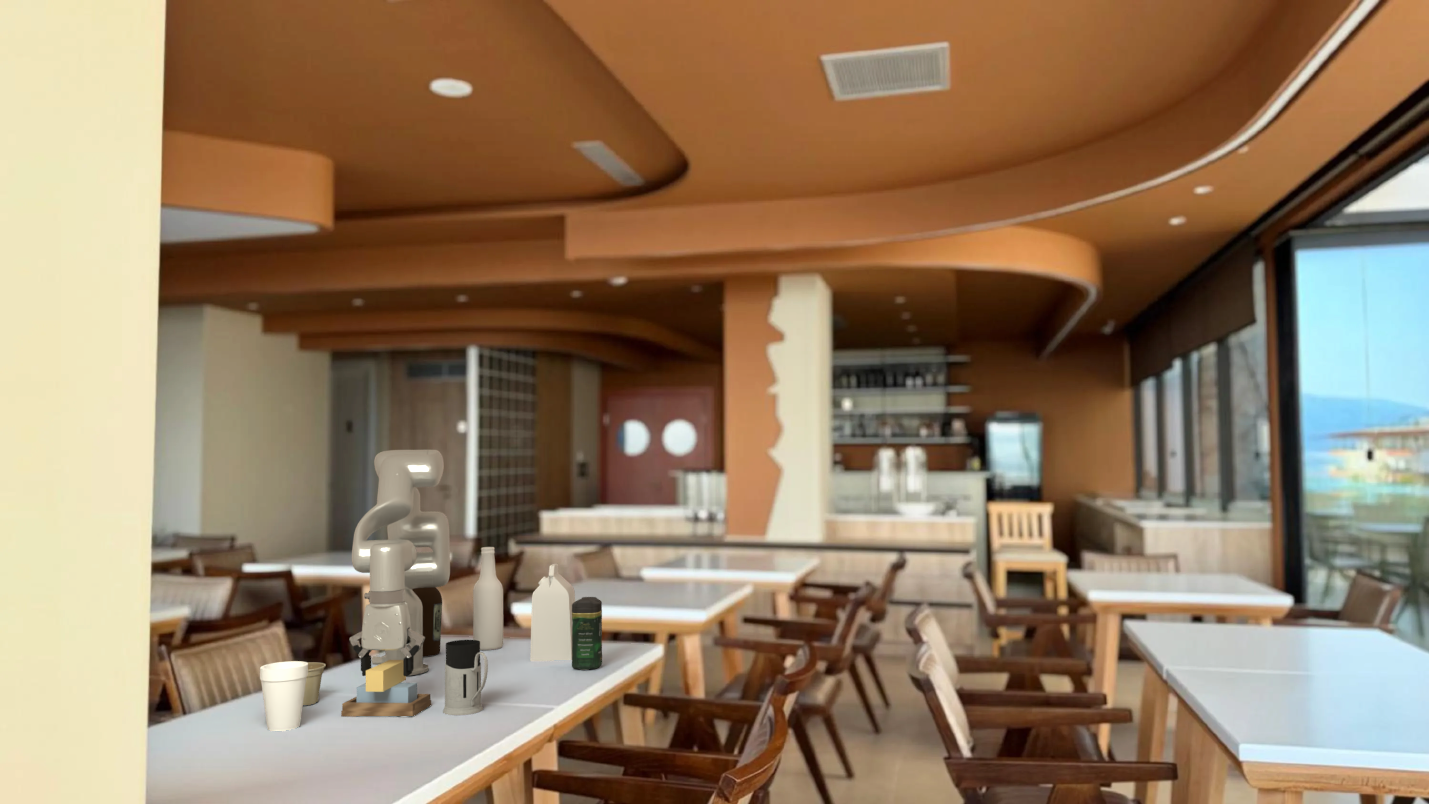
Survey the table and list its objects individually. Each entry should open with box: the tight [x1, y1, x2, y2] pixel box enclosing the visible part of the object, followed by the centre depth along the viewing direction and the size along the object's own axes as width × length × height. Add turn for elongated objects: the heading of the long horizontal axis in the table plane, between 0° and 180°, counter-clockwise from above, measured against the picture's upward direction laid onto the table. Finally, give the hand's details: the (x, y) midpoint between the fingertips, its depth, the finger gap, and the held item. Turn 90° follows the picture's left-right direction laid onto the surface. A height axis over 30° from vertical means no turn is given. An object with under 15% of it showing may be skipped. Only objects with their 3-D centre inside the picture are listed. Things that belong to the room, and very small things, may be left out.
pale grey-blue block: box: [356, 682, 418, 703], centre depth 226 cm, size 12×5×4 cm, turn 83°
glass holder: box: [442, 639, 489, 716], centre depth 224 cm, size 9×14×15 cm, turn 45°
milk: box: [529, 563, 576, 662], centre depth 287 cm, size 12×12×26 cm
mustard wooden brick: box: [365, 660, 407, 692], centre depth 226 cm, size 4×12×4 cm, turn 174°
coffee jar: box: [571, 596, 603, 671], centre depth 271 cm, size 10×8×19 cm
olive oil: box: [412, 587, 443, 658], centre depth 294 cm, size 11×11×25 cm
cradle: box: [340, 693, 432, 717], centre depth 226 cm, size 16×10×3 cm, turn 83°
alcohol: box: [472, 546, 504, 651], centre depth 303 cm, size 9×9×30 cm
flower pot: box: [303, 661, 327, 706], centre depth 235 cm, size 9×9×9 cm
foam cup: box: [259, 660, 309, 732], centre depth 213 cm, size 10×9×13 cm
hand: (387, 674), depth 227 cm, fingers open, 9 cm apart
